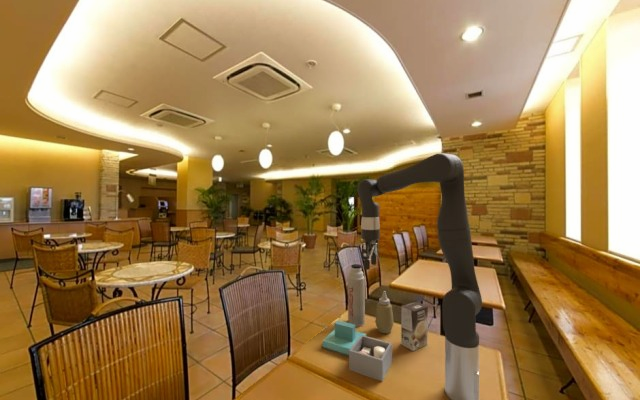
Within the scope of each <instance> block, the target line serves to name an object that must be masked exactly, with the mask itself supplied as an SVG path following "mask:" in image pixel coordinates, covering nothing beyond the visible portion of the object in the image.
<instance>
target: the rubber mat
mask: <svg viewBox="0 0 640 400" xmlns="http://www.w3.org/2000/svg"><path fill="white" fill-rule="evenodd" d="M321 349H322V350H327V351H328V352H333V353H335V354H338V355H341V356H345V357H347V358H349V355H347V354H344V353H341V352H338V351H334V350H331V349H328V348H325V347H323V345H322V346H321Z"/></svg>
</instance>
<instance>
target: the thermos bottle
mask: <svg viewBox="0 0 640 400" xmlns="http://www.w3.org/2000/svg"><path fill="white" fill-rule="evenodd" d="M350 267H351V270H350V271H349V274H348V276H347V298H348V299H347V301H348V302H347V313H348V315H347V321H348V322H347V323H350V324H354V325H355V328H356V327H362V326H364V325H365V323H366V310H365V306H366V305H365V304H366V303H365V302H366V298H365V296H366V295H365V294H366V293H365V291H366V290H365V289H366V288H365V287H366V280H365V278H366V277H365V276H364V272H363V271H362V265H361V264H359V263H358V264H357V263H356V264H351V265H350Z"/></svg>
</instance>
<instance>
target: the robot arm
mask: <svg viewBox="0 0 640 400" xmlns="http://www.w3.org/2000/svg"><path fill="white" fill-rule="evenodd" d="M464 171H465V170H464V164H463V161H462V160H461V159H460V158H459V157H458V156H457V155H455V154H452V153H441V152H439V153H435V154H433V155H431V156H428V157H427V158H424V159H423V160H421V161H419V162H417V163H415V164H413V165H410V166H408V167H405V168H402V169H400V170H395V171H392V172H389V173H386V174H382V175H380V176H379V177H378V178H376V179H373V178H372V179H369V178H368V179H367V178H366V179H365V178H364V179H361V180H360V181H359V183H358V185H357V194H358V197H359V201H360V205H361V221H360V224H361V225H360V230H361V231H360V232H361V233H360V234H361V237H360V238H361V240H364V241H365V242H364V243H362V244H361V260H363V269H364V270H365V271H366V270H370V268H371V265H374V266H376V265H378V264H377V260H378V259H377V257H378V254H379V251H380V250H379V240H380V239H381V238H380V237H381V234H380V233H381V227H380V226H381V225H380V205H379V203H378V202H374V200H373V197H380V196H383V195H385V194H388V193H391V192H396V191H399V190H404V189H405V188H407V187H409V186H411V185H412V186H413V185H416V184H420V183H432V182H433V183H434V182H435V183H439V187H440V193H441V204H440V208H439V213H438V216H437V223H436V225H437V228H436V230H437V237H438V242H439V247H440V250H441V252H442V255H443V256H444V258H445V260H446V262H447V264H448V267H449V272H450V278H451V279H450V281H451V282H450V283H451V289H449V290H448V291H447V292H446V293H445V294H444V296H443V298H442V305H441V306H442V309H441V311H442V312H441V313H442V327H443V332H444V334H445V335H444V336H445V341H444V342H445V346H444V348H445V349H444V353H445V354H444V355H445V356H444V391H445V395H446V396H447V398H449V399H450V400H480V335H479V333H478V332H477V331H476V329H477V327H476V324H477V322H476V316H477V315H478V314H479V313H480V311H481V309H482V307H483V298H482V293H481V290H480V287H479V283H478V280H477V279H478V278H477V274H476V270H475V269H476V268H475V263H474V261H475V260H474V251H473V245H472V244H473V243H472V235H471V227H470V222H469V218H468V217H469V216H468V209H467V208H468V207H467V203H466V197H465V196H466V195H465V172H464Z"/></svg>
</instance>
